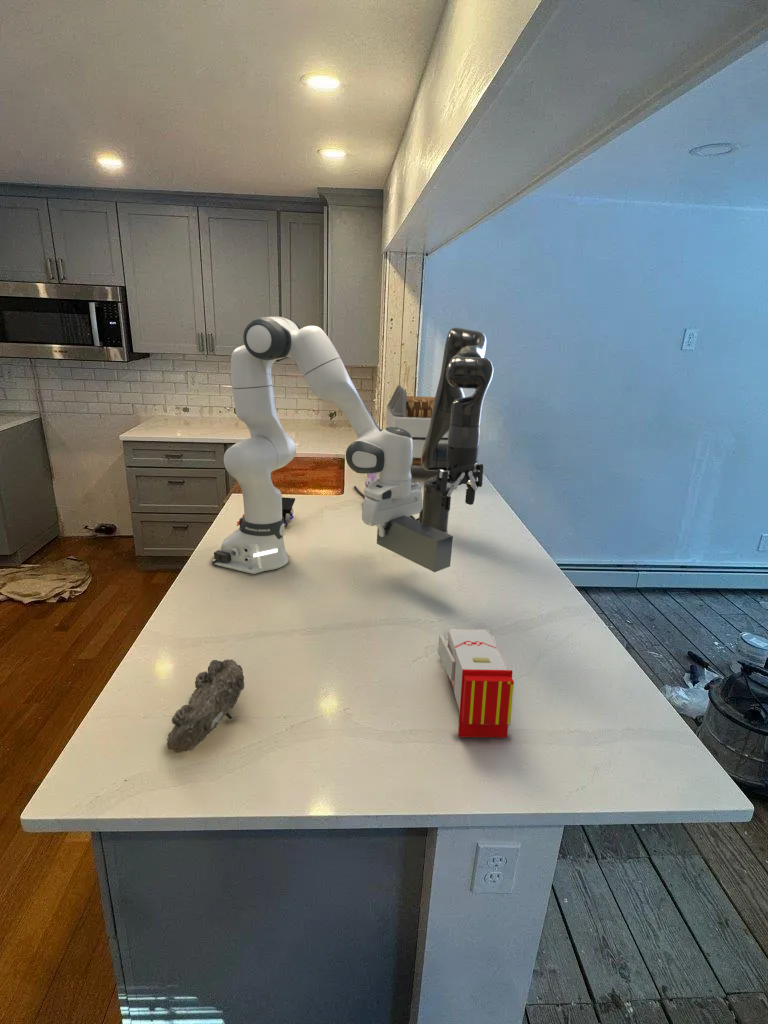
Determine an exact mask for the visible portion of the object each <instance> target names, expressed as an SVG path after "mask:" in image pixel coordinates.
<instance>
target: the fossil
mask: <svg viewBox="0 0 768 1024" xmlns="http://www.w3.org/2000/svg"><path fill="white" fill-rule="evenodd" d="M243 670H244V669H243V667H242V665H240V664H237V662H236V661H235V660H234V659H232V658H231V659H227V658H226V659H224V660H223V661H222V660H217V659H212V660H211V661H210V663H209V665H208V666H207V671H201V672H199V673H198V674H197V675H196V676H195V680H194V684H195V685H194V687H195V689H194V690H193V693H192V694H191V697H190V698H189V700H188V704H184V705H182V706H181V707H180V709H177V710H176V711H175V713H174V715H173V716H172V718H171V723H172V724H173V727H172V730H171V731H170V732H168V734H167V738H166V741H167V742H166V745H167V749H168V750H169V751H173V752H174V753H176V754H178V753H182V752H188V751H189V752H192V751H193V750H195V748H196V747H197V746H199V744H200V743H201V742H203V741H204V740H205V739H206V738H207V737H208V736H209V735H210V734H211V733H212V732H214V730H215V729H217V727H218V726H219V724H220V722H221V721H222V720H223V719H224V718H225V716H226V717H227V719H229V720H233V717H232V715H230V714H229V710H230V709H231V708H234V706H235V704H236V703H237V702H238V699H239V697H240V695H241V693H242V691H243V690H245V689H244V688H245V675H244V671H243Z"/></svg>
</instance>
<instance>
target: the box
mask: <svg viewBox="0 0 768 1024" xmlns="http://www.w3.org/2000/svg"><path fill="white" fill-rule="evenodd" d="M416 520H417V519H415V520H414V519H412V518H411V517H407V516H403V517H399V518H395V519H392V520H390V521H389V522H385V525H384V526H383V528H384V530H387V533H386V534H387V535H386V536H384V537H381V536H379V530H378V528H377V527H376V528H377V530H376V545H378V546H380V547H383V549H384V548H385V549H387V550H388V551H390V552H392V553H394V554H397V555H398V556H400V557H402V558H404V559H406V560H408V561H411V562H412V563H415V564H416V565H419V566H421V567H423V568H425V569H427V570H428V571H431V572H432V573H437V572H439V571H442V570H445V569H447V568H450V567H451V562H452V552H453V551H452V550H453V540H454V535H452V534H449V533H448V534H447V533H445V532H442V531H440V530H438V529H435V528H433V527H431V526H428V525H426V524H424V523H421V522H419V521H416Z"/></svg>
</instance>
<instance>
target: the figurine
mask: <svg viewBox="0 0 768 1024" xmlns="http://www.w3.org/2000/svg"><path fill="white" fill-rule="evenodd" d="M366 474H367V475H366V476H367V478H366V479H365V483H364V485H365V488H366V487H367V486H369V485H371V484H372V483H374V482H375V481H376V480H378V479H379V478H378V474H379V473H378V472H377V473H366ZM364 495H365V494H364ZM366 497H367V496H366V495H365V498H366ZM365 498H364V499H365Z"/></svg>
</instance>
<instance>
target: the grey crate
mask: <svg viewBox="0 0 768 1024" xmlns="http://www.w3.org/2000/svg"><path fill="white" fill-rule="evenodd" d="M407 394H408V393H407V390H406V389H404V388H403V387H402V385H399V384H398V385H397V386H396V388H395V390H394V392H393V394H392V395H391V398H390V400H389V402H388V404H387V405H386V413H385V414H386V415H385V423H386V427H385V428H387V427H397V428H401V429H404V430H406V431H407V432H409V433H410V435H411V437H412V441H413V462H412V465H411V467H412V466H413V467H415V466H416V467H417V466H418V467H422V465H421V454H422V449H423V446H424V443H425V439H426V436H427V433H428V430H429V426H430V421H431V415H432V409H433V404H434V400H435V396H415V395H414V396H413V395H412V396H411V395H407ZM448 433H449V432H448ZM448 433H447V434H445V435H444V436H443V437H442V438H441V440H440V441H439V443H448Z"/></svg>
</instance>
